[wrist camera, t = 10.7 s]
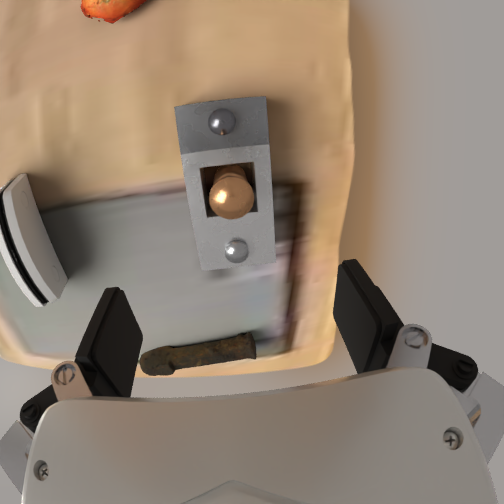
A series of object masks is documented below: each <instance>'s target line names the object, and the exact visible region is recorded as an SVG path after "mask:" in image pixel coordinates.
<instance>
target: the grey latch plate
mask: <svg viewBox="0 0 504 504" xmlns="http://www.w3.org/2000/svg"><path fill="white" fill-rule="evenodd" d="M174 108H175V116H176V123H177V131H178V138H179V145H180V152H181V159H182V166H183V172H184V178H185V184H186V190H187V196H188V202H189V208H190V213H191V219H192V224H193V230H194V235H195V240H196V245H197V250H198V255H199V260H200V265H201V270H202V271H205V270H214V269H223V268H232V267H240V266H249V265H257V264H266V263H274V262H276V254H275V233H274V213H273V194H272V177H271V161H270V146H269V132H268V118H267V105H266V96H262V97H247V98H236V99H226V100H217V101H209V102H202V103H195V104H188V105H182V106H177V107H174ZM244 162H251V168H252V180H253V192H254V203H253V206H252V208H251V210H250V211H249V212H248V213H247V214H246V215H244V216H243V217H241V218H238V219H225V218H222V217H220V216H218V215H217V214H216V213H215V212H214V211H213V210H212V208H211V205H210V204H209V202H208V195H207V188H206V181H205V174H204V167H210V166H218V165H226V164H235V163H244Z"/></svg>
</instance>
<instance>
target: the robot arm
mask: <svg viewBox="0 0 504 504" xmlns="http://www.w3.org/2000/svg"><path fill="white" fill-rule="evenodd" d="M333 316H334V319H335V322H336V324H337V326H338V328H339V331H340V333H341V335H342V338H343V340H344V342H345V345H346V346H347V349H348V351H349V354H350V356H351V359H352V361H353V363H354V366H355V368H356V371H357V373H358V374H356V375H352V376H347V377H343V378H338V379H333V380H328V381H323V382H318V383H313V384H307V385H302V386H297V387H290V388H283V389H276V390H269V391H261V392H253V393H244V394H234V395H222V396H207V397H186V398H131V397H130V396H131V390H132V386H133V381H134V376H135V371H136V367H137V362H138V358H139V354H140V349H141V345H142V341H143V335H142V332H141V330H140V327H139V325H138V323H137V321H136V319H135V316H134V314H133V312H132V310H131V307H130V305H129V303H128V300H127V298H126V296H125V293H124V291H123V290H120V288H119V287H112V288H106V289H105V291H104V293H103V295H102V297H101V299H100V301H99V303H98V305H97V307H96V309H95V311H94V314H93V316H92V318H91V320H90V322H89V325H88V327H87V329H86V331H85V334H84V336H83V338H82V341H81V343H80V346H79V348H78V351H77V353H76V356H75V357H76V359H75V361H74V362H73V361H64V362H62V363H60V364H59V365H57V366H56V368H55V369H54V370H53V372H52V375H51V382H52V385H50V386H49V387H47V388H46V389H44V390H43V391H41V392H40V393H39V394H37V395H35V396H34V397H33V398H31V399H30V400H28V401H27V402H26V403H25V404H24V405H23V406H22V408H21V411H20V422H19V421H18V420H16V421H15V423H14V424H13V425H12V426H11V428H10V429H9V430H8V431H7V433H6V434H5V435H4V436H3V437H2V439H1V440H0V465H1V466H2V468H3V469H4V471H5V472H6V474H7V475H8V477H9V478H10V479H11V481H12V482H13V484H14V485H15V486H16V488H17V489H18V490H19V492H20V493H21V494H22V504H498V501H497V496H496V492H495V488H494V485H493V482H492V478H491V475H490V472H489V469H488V465H487V464H488V463H489V461H490V459H491V457H492V456H493V454H494V452H495V450H496V448H497V446H498V444H499V442H500V440H501V438H502V436H503V434H504V386H503V385H501V384H500V383H498V382H497V381H496V380H494V379H492V378H491V377H490V376H489V375H487V374H486V373H484V372H482V374H480V373H479V372H478V368H477V364H476V363H475V361H474V360H473V359H472V358H471V357H469V356H466V355H464V354H461V353H459V352H456V351H453V350H450V349H447V348H444V347H442V346H439V345H436V344H433V343H432V337H431V334H430V333H429V331H428V330H427V329H425V328H424V327H422V326H420V325H417V324H408V325H405V326H404V324H403V323H402V321H401V320H400V318H399V317H398V315H397V313H396V312H395V310H394V309H393V308H392V306H391V304H390V303H389V302H388V300H387V299H386V297H385V296H384V294H383V293H382V291H381V290H380V288H379V287H378V286H375V285H374V283H373V282H372V281H371V279H370V278H369V276H368V275H367V273H366V272H365V271H364V269H363V268H362V266H361V265H360V264H359V262H358V261H357V260H356V259H351V260H344V261H343V262H342V264H340V265H339V266H338V274H337V284H336V292H335V300H334V308H333Z"/></svg>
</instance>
